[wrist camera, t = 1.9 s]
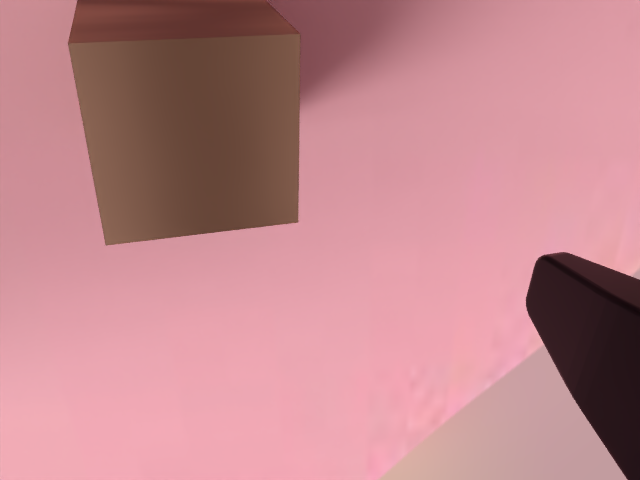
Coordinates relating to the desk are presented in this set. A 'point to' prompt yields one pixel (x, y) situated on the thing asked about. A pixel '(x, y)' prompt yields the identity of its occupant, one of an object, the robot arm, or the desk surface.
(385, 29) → the desk surface
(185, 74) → the walnut block
